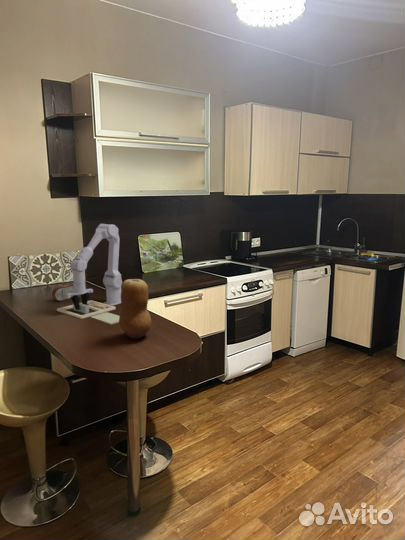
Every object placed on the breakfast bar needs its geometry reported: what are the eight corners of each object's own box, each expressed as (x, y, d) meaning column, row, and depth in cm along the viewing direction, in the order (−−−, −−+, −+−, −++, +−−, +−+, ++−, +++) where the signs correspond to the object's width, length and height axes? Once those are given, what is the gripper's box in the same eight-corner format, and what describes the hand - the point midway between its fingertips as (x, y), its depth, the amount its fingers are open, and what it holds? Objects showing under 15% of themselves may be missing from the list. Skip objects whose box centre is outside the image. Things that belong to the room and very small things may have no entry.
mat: (106, 313, 203) (106, 312, 203) (127, 319, 193) (127, 318, 193) (90, 317, 195) (90, 316, 195) (111, 324, 186) (111, 323, 186)
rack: (91, 302, 222) (91, 300, 222) (115, 309, 209) (115, 306, 209) (57, 311, 206) (56, 308, 206) (81, 319, 193) (81, 316, 193)
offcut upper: (94, 304, 217) (93, 302, 216) (105, 308, 210) (105, 306, 210) (88, 306, 214) (88, 304, 214) (100, 309, 208) (99, 307, 207)
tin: (75, 296, 236) (74, 282, 234) (78, 297, 234) (77, 283, 232) (52, 301, 224) (51, 287, 223) (55, 302, 222) (54, 288, 221)
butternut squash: (158, 336, 170) (156, 279, 165) (133, 345, 160) (131, 285, 156) (137, 329, 179) (135, 275, 174) (112, 337, 169) (110, 280, 165)
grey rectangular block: (76, 310, 209) (76, 302, 208) (89, 314, 203) (88, 305, 202) (73, 310, 208) (72, 302, 207) (85, 314, 201) (85, 306, 200)
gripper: (86, 279, 210) (88, 304, 213) (62, 284, 199) (63, 310, 202) (94, 281, 206) (96, 306, 208) (70, 286, 195) (72, 313, 197)
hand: (80, 308), depth 205 cm, fingers open, 4 cm apart
